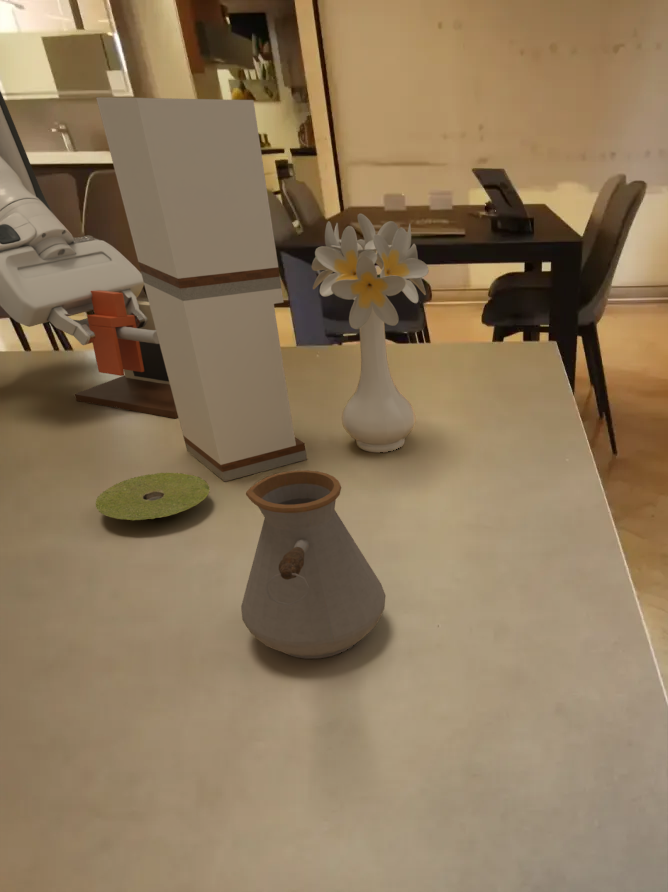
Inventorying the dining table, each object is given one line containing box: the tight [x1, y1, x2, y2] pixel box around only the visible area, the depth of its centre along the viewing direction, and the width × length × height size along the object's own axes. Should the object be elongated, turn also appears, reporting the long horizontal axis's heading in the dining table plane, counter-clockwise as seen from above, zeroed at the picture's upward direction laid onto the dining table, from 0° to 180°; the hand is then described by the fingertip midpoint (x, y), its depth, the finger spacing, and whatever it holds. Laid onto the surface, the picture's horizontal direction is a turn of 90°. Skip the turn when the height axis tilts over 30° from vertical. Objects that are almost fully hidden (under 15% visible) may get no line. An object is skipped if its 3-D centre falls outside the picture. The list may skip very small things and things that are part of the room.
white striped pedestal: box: [95, 96, 308, 482], centre depth 76 cm, size 11×11×35 cm
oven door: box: [71, 300, 179, 419], centre depth 100 cm, size 11×18×12 cm, turn 68°
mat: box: [95, 472, 210, 521], centre depth 74 cm, size 11×11×2 cm
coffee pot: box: [240, 469, 387, 660], centre depth 50 cm, size 21×12×15 cm, turn 11°
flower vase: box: [311, 213, 430, 454], centre depth 82 cm, size 13×18×25 cm
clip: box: [86, 290, 144, 377], centre depth 95 cm, size 4×4×10 cm
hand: (117, 332), depth 94 cm, fingers open, 8 cm apart
